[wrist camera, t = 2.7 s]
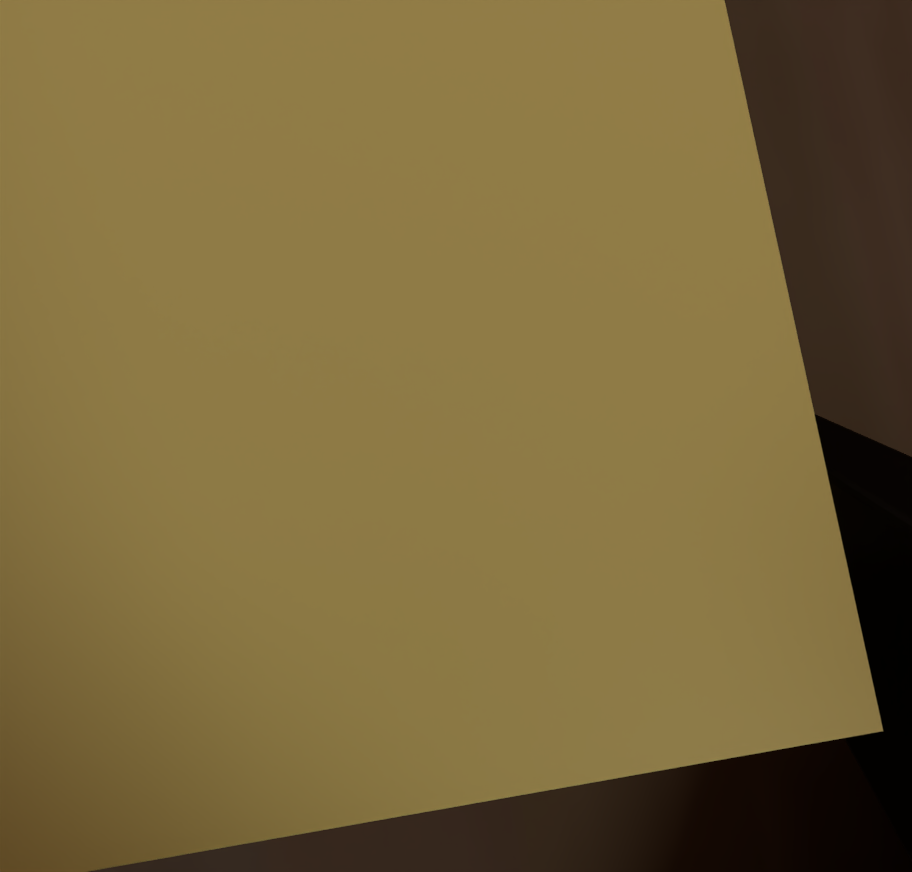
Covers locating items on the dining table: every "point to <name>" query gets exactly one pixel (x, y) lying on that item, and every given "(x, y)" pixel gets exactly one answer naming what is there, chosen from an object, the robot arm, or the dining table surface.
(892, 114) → the dining table surface
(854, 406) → the dining table surface
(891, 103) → the dining table surface
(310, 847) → the dining table surface
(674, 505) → the tall yellow block
